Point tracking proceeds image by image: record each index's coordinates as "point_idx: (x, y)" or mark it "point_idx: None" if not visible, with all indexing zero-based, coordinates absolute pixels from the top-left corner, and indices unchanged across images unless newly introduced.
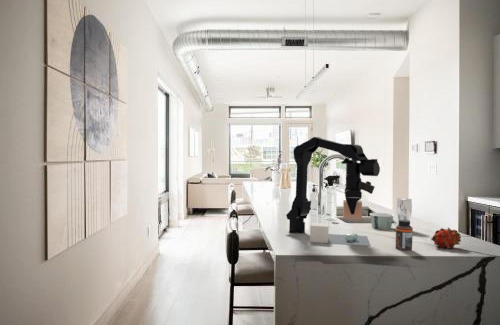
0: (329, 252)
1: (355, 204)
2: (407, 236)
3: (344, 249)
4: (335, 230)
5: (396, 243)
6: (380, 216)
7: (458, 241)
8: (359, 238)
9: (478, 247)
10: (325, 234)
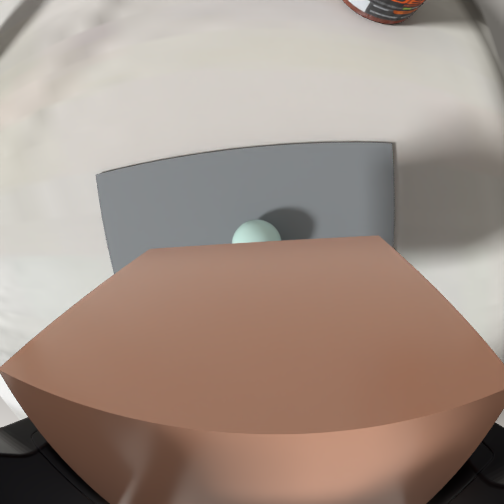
0: (496, 323)
1: (495, 435)
2: None
3: (459, 278)
4: (47, 320)
5: (404, 12)
6: None
7: None
8: (177, 209)
9: None
10: None
